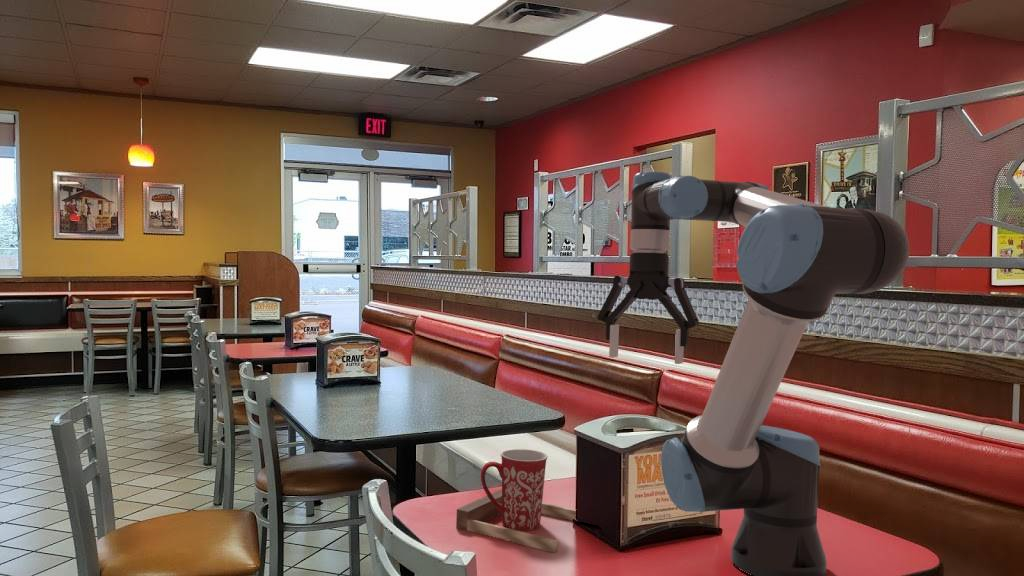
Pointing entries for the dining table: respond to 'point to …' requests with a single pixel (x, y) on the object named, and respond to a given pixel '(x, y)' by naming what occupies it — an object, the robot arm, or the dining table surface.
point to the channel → (483, 509)
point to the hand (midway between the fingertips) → (645, 360)
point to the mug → (519, 487)
